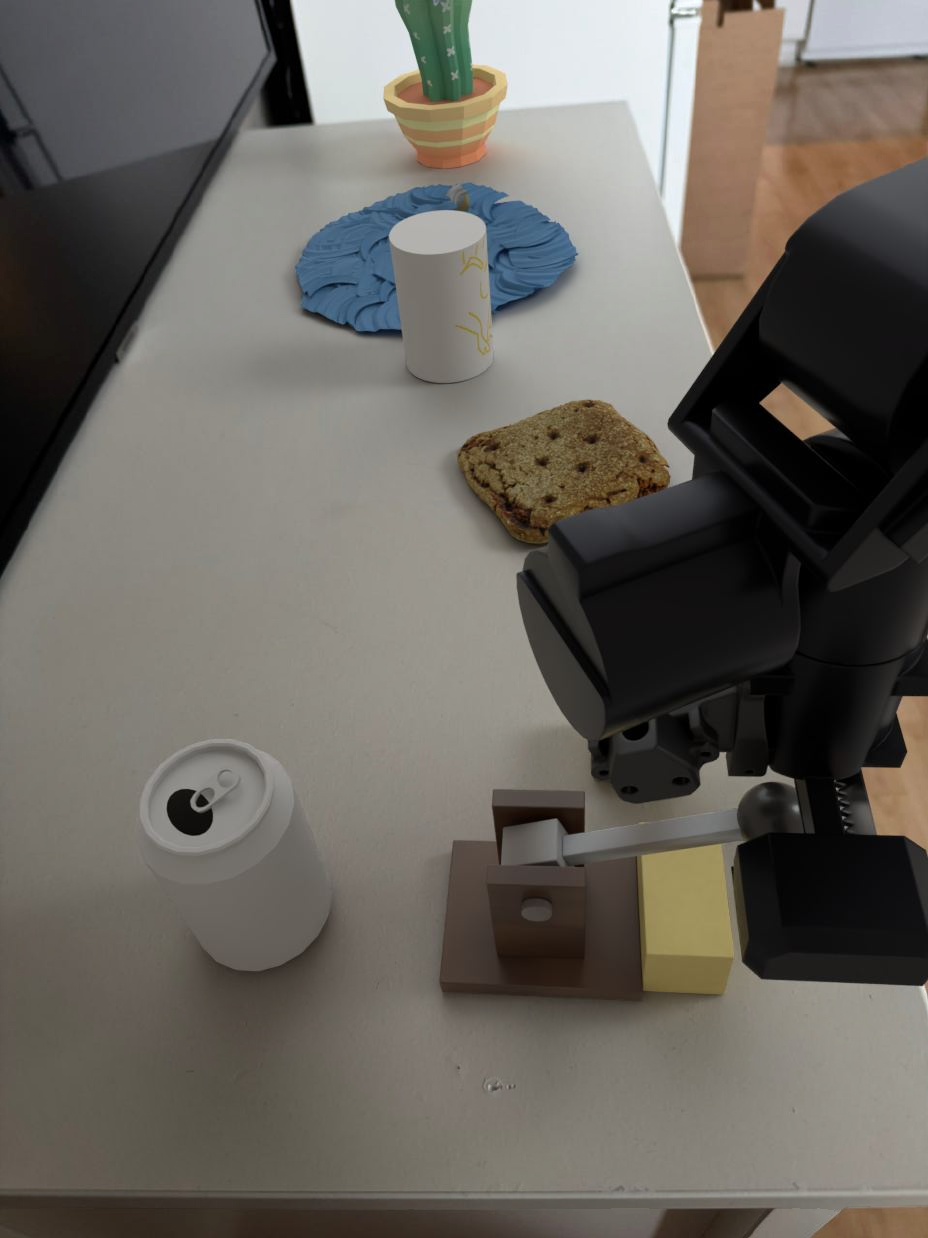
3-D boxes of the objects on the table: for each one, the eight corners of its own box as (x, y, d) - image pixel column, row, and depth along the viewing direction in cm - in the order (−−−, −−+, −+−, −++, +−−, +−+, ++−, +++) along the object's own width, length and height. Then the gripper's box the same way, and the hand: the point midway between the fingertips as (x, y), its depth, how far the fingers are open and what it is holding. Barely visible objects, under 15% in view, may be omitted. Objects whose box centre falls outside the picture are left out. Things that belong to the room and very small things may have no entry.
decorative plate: (546, 358, 89) (545, 308, 85) (254, 334, 96) (240, 287, 92) (599, 205, 107) (600, 158, 103) (350, 194, 114) (342, 150, 110)
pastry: (694, 429, 78) (697, 398, 75) (638, 572, 67) (641, 541, 65) (496, 398, 83) (494, 368, 81) (416, 526, 72) (411, 495, 70)
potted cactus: (376, 179, 117) (338, -65, 99) (408, 129, 127) (380, -100, 109) (498, 179, 114) (483, -73, 96) (522, 128, 124) (512, -109, 106)
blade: (813, 800, 43) (800, 761, 41) (826, 864, 41) (812, 827, 38) (525, 845, 48) (499, 813, 46) (522, 905, 46) (495, 874, 44)
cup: (486, 384, 85) (477, 254, 76) (397, 381, 86) (379, 253, 77) (499, 336, 90) (492, 210, 81) (416, 334, 91) (400, 210, 83)
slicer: (635, 855, 52) (643, 765, 46) (641, 1001, 47) (652, 922, 40) (455, 850, 53) (438, 761, 47) (441, 992, 48) (420, 914, 42)
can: (175, 906, 53) (94, 788, 44) (287, 825, 56) (233, 698, 47) (244, 1008, 48) (170, 899, 40) (362, 914, 51) (318, 794, 43)
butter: (710, 865, 52) (719, 823, 48) (723, 995, 47) (734, 957, 44) (635, 863, 52) (639, 821, 49) (641, 991, 47) (646, 954, 44)
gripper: (588, 434, 38) (586, 678, 50) (594, 849, 26) (589, 1048, 37) (876, 427, 37) (806, 679, 48) (1030, 861, 25) (886, 1064, 36)
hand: (769, 841), depth 43 cm, fingers open, 9 cm apart
